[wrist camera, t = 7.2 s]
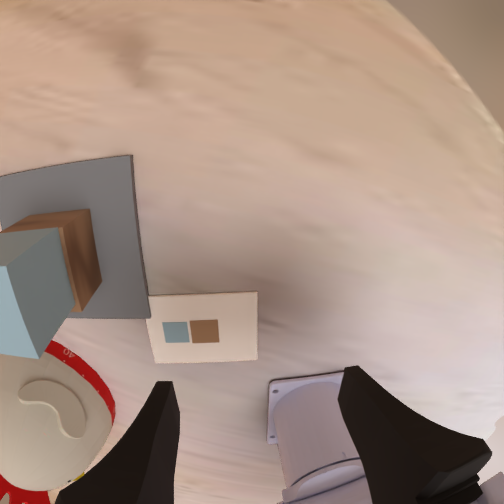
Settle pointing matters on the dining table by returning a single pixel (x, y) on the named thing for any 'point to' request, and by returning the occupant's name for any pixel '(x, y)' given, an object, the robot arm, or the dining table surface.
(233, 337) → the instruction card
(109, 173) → the slate mat
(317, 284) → the dining table surface
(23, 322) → the blue brick
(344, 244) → the dining table surface
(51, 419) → the kitchen timer
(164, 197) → the dining table surface
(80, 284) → the walnut block
